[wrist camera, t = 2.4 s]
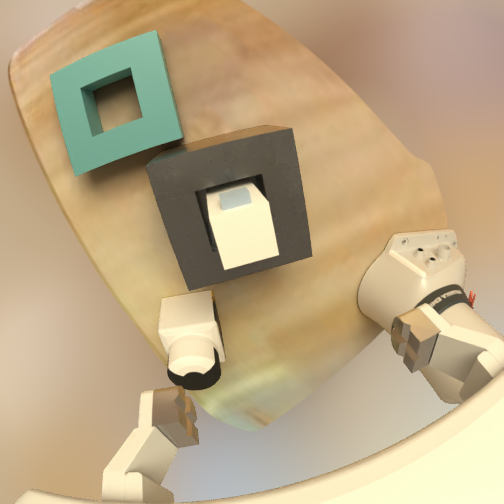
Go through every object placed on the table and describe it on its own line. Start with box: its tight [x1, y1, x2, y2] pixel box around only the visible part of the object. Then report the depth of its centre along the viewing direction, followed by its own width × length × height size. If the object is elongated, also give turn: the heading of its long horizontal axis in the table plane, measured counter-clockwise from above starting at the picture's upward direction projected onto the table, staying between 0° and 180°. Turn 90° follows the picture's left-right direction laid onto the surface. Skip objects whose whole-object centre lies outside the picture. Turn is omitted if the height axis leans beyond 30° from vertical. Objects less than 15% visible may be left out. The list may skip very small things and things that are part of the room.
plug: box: [206, 177, 279, 270], centre depth 23 cm, size 4×5×9 cm
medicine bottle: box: [158, 290, 226, 390], centre depth 35 cm, size 7×7×12 cm
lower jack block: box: [50, 30, 184, 177], centre depth 25 cm, size 12×12×4 cm
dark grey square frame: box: [145, 125, 312, 291], centre depth 29 cm, size 12×12×10 cm
